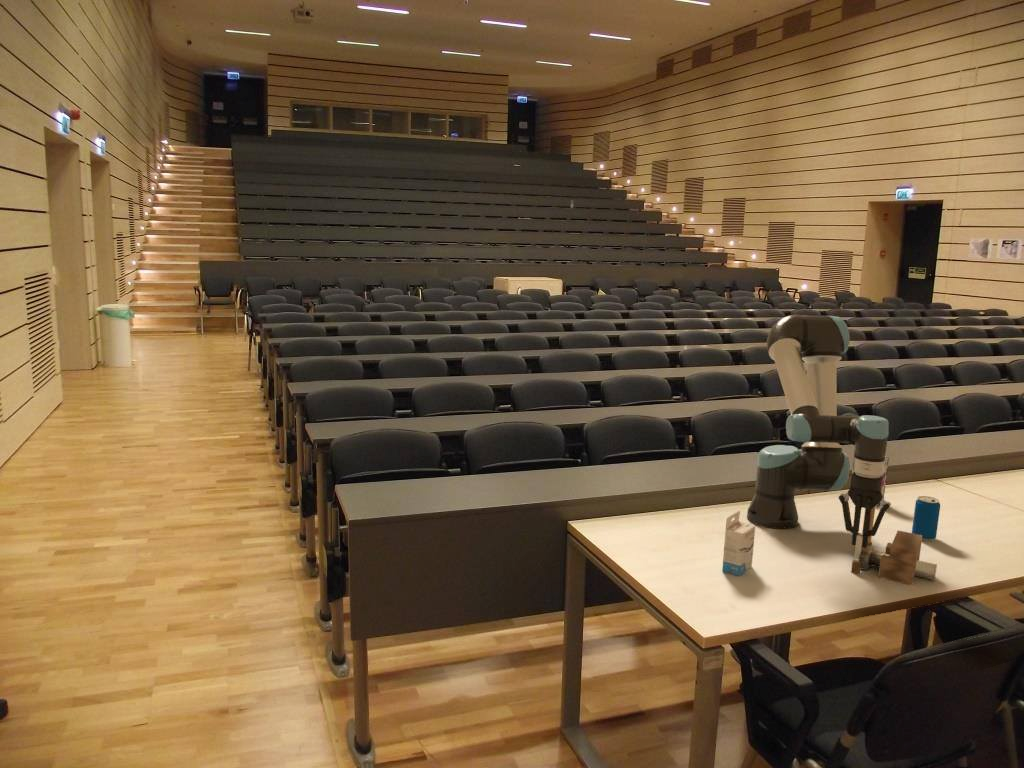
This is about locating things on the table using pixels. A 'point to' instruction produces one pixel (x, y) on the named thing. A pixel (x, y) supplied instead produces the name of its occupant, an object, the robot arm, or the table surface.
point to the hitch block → (898, 558)
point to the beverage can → (926, 517)
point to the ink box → (738, 545)
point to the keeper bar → (870, 524)
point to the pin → (874, 557)
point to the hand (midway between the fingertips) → (857, 557)
